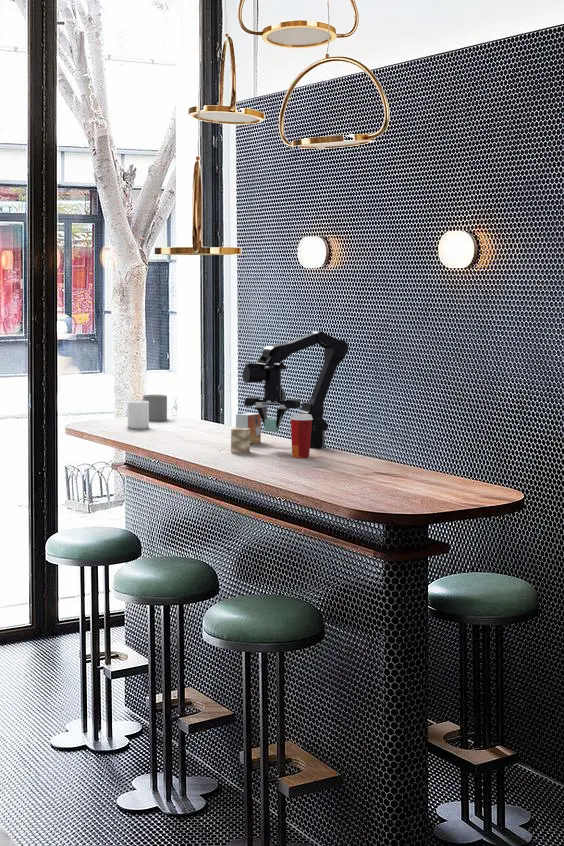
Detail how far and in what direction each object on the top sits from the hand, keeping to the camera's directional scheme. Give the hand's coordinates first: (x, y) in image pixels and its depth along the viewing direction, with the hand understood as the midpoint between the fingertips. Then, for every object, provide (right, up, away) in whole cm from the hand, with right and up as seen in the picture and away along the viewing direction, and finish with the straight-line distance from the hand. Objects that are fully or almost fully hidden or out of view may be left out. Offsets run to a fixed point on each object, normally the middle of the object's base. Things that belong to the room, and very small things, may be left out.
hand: (271, 427), depth 371 cm
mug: (-54, 0, +54) cm, 76 cm away
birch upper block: (-11, -4, -7) cm, 13 cm away
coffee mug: (-51, +3, +81) cm, 95 cm away
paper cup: (+10, -10, -14) cm, 20 cm away
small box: (-9, -6, +16) cm, 19 cm away
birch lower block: (-11, -8, -6) cm, 15 cm away
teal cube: (0, -1, 0) cm, 1 cm away
